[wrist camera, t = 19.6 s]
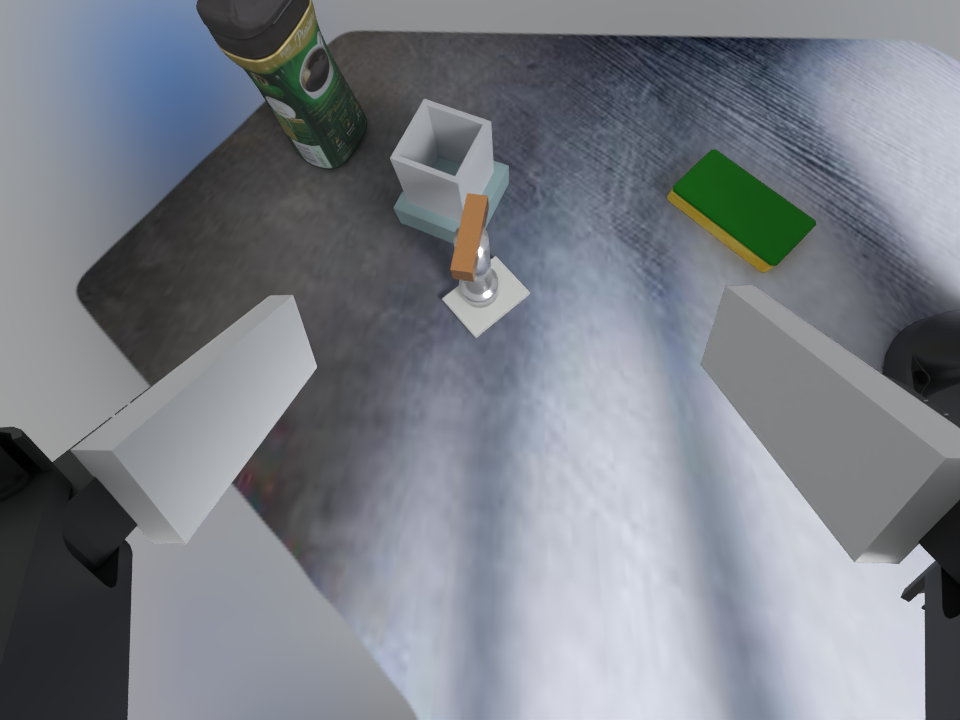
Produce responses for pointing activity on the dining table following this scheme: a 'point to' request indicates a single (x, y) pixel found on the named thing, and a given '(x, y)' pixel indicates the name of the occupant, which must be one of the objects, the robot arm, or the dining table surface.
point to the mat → (487, 316)
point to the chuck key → (474, 254)
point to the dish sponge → (740, 211)
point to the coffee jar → (291, 73)
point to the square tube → (445, 169)
